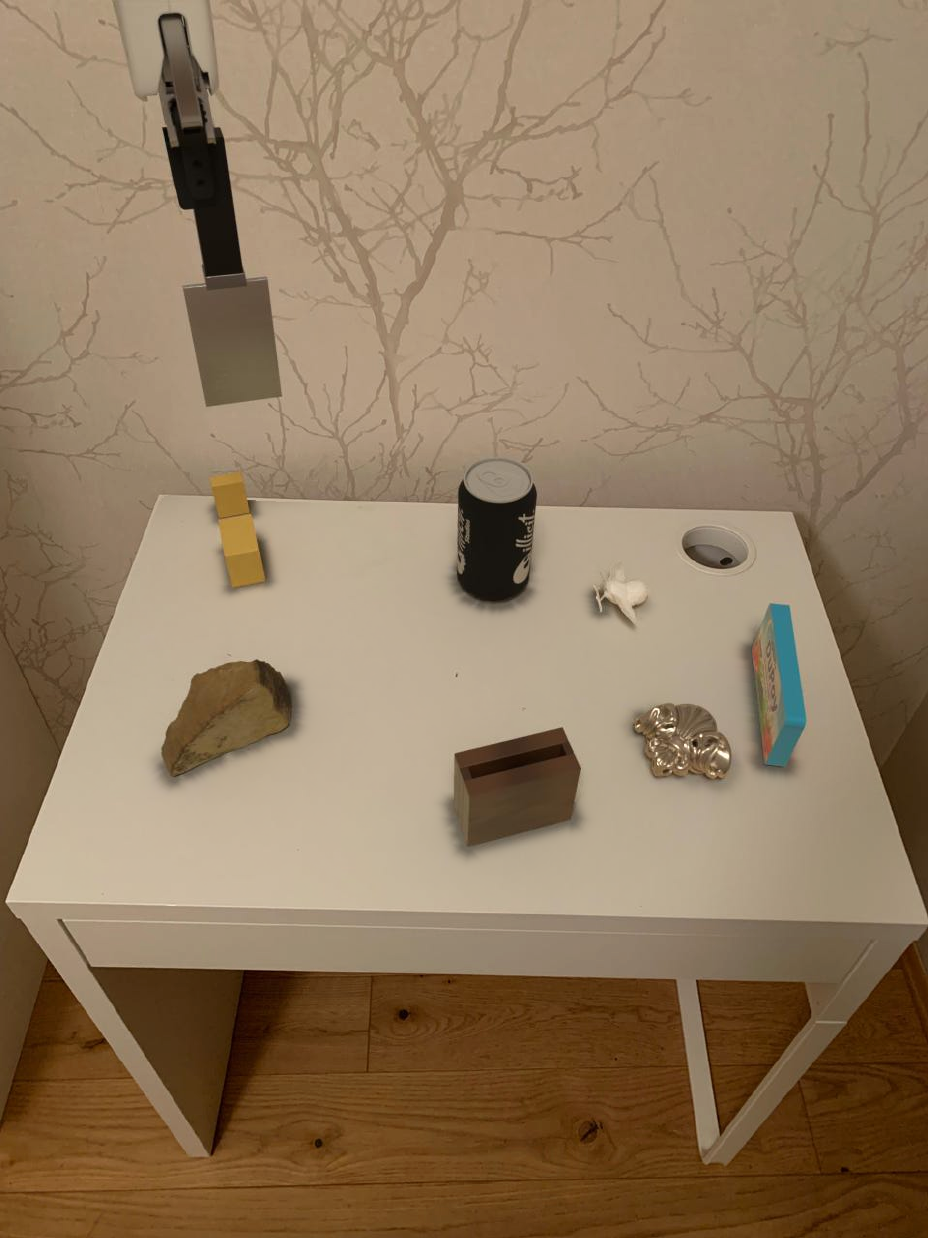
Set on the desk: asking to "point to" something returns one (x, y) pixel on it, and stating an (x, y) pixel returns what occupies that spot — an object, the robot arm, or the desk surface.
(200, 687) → the rock
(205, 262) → the knife
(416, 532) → the desk surface
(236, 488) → the butter slice
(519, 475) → the beverage can
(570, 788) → the knife block
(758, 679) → the blue product box
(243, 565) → the butter block
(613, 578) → the toy bird
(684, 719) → the ornament
